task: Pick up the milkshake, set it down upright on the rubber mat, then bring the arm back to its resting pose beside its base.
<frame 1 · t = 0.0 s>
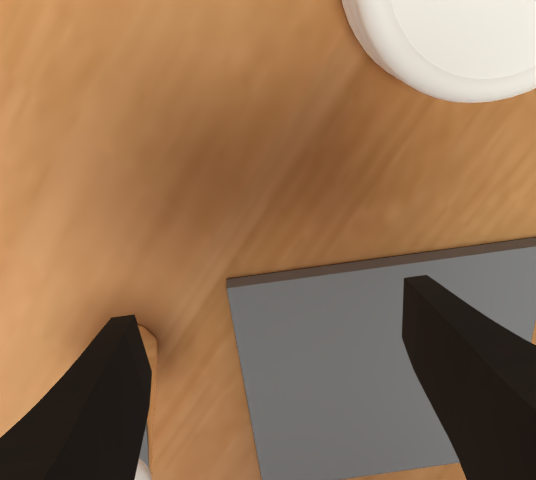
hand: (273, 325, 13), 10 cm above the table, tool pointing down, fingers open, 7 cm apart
mat: (383, 374, 28), on the table
milkshake: (122, 338, 26), on the table
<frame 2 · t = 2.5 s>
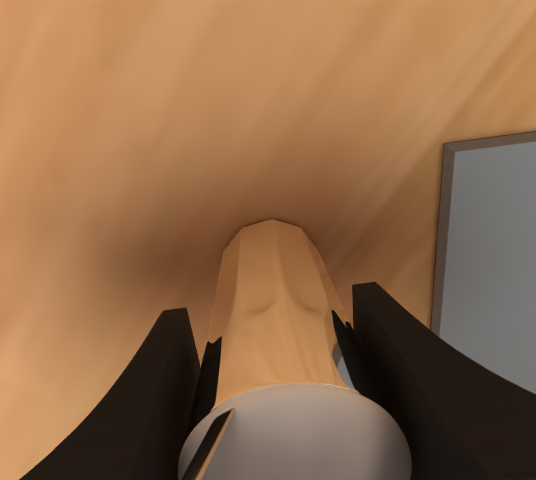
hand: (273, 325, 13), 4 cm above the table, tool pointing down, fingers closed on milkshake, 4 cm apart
milkshake: (263, 249, 17), on the table, touching gripper
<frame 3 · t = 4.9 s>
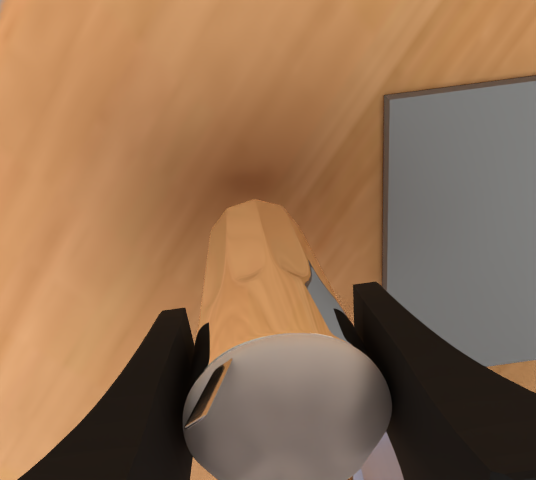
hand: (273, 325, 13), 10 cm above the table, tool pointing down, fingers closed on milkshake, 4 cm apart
milkshake: (247, 228, 18), point 5 cm above the table, touching gripper
when the fingers open (6 cm above the table, at t = 8.8 s): milkshake stays where it is, resting on mat.
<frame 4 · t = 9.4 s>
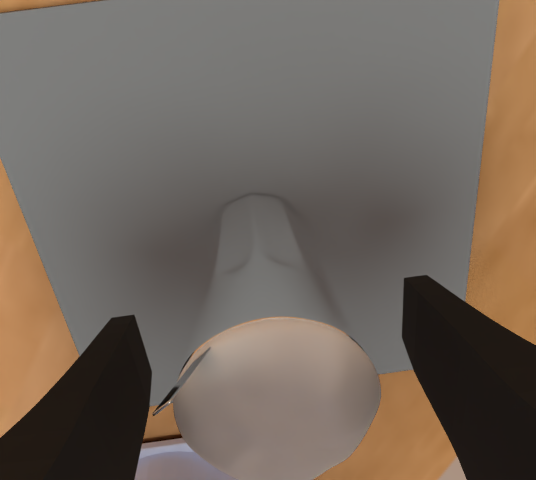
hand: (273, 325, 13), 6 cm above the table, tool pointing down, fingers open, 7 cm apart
mat: (259, 221, 18), on the table
milkshake: (248, 223, 18), point 1 cm above the table, touching mat
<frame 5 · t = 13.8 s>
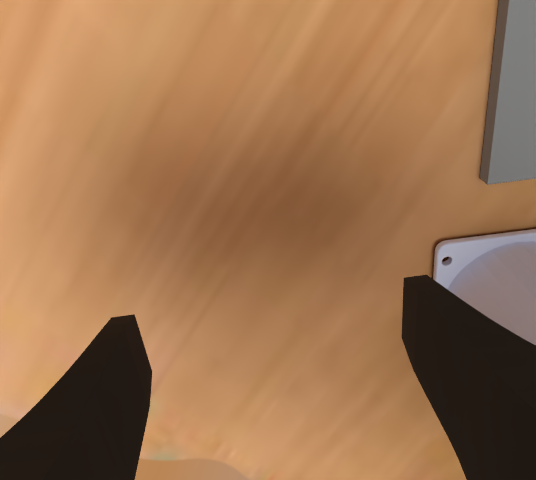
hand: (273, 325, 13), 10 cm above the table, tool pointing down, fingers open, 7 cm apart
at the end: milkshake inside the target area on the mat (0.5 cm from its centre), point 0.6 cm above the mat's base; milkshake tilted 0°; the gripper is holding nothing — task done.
